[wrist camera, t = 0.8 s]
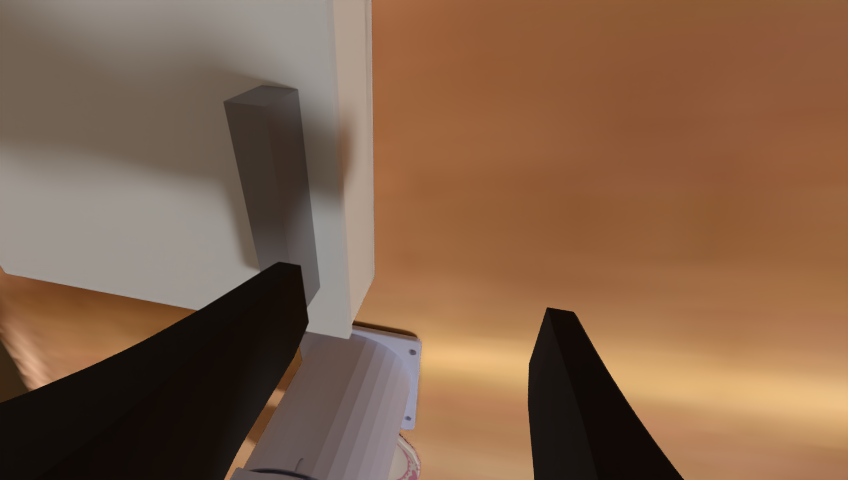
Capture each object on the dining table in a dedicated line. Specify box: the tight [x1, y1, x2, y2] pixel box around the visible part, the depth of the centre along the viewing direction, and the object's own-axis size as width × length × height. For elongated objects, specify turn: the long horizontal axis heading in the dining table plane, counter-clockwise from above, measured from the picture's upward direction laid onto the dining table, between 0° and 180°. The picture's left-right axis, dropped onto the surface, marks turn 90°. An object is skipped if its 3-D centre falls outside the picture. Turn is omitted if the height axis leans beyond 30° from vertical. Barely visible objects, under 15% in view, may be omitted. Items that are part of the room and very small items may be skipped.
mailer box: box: [333, 0, 375, 323], centre depth 18 cm, size 14×18×4 cm
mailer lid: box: [0, 0, 352, 339], centre depth 15 cm, size 14×18×2 cm
